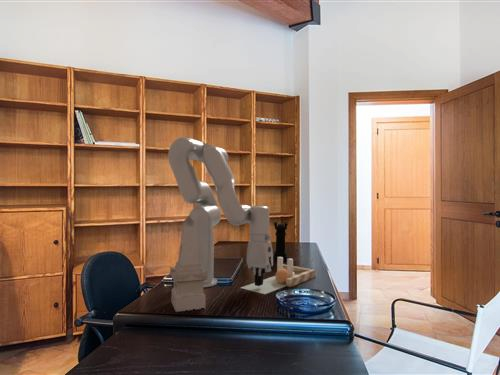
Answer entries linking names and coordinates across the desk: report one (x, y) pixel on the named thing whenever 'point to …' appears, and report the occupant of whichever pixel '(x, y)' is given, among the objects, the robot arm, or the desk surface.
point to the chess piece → (280, 241)
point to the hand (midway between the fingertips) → (258, 285)
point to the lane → (265, 286)
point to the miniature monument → (188, 272)
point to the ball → (282, 275)
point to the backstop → (299, 275)
